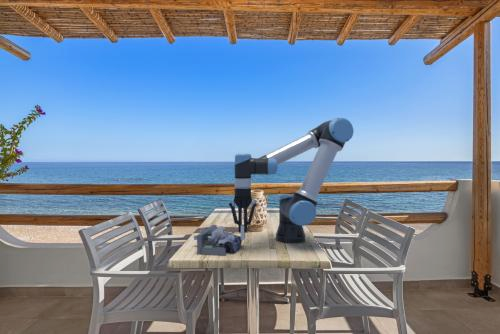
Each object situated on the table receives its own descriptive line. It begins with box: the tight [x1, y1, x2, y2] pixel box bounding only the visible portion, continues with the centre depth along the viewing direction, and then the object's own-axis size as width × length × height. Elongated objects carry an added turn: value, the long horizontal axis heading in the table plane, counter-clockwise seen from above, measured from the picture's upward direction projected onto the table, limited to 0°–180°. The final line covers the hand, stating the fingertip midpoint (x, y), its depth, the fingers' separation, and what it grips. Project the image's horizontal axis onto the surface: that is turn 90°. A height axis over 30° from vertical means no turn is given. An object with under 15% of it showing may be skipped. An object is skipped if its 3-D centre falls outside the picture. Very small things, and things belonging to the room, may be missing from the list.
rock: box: [218, 231, 243, 254], centre depth 132 cm, size 14×10×10 cm
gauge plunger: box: [193, 226, 225, 247], centre depth 136 cm, size 12×21×8 cm, turn 170°
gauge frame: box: [196, 224, 227, 257], centre depth 135 cm, size 12×23×8 cm, turn 170°
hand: (242, 239), depth 133 cm, fingers closed
